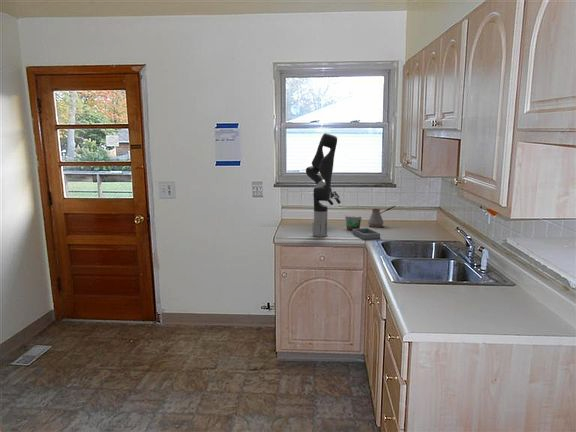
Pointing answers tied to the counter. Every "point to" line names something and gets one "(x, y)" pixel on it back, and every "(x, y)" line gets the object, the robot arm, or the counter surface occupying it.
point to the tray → (366, 233)
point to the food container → (353, 222)
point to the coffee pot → (377, 218)
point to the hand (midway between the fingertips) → (336, 204)
